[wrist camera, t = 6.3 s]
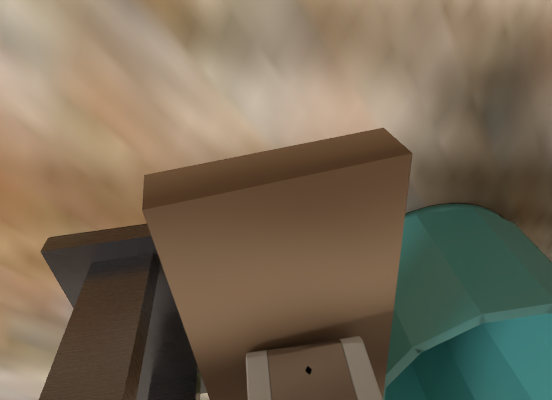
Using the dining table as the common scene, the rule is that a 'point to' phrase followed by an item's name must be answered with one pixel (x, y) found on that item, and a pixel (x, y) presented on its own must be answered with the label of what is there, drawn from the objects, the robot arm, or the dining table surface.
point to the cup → (469, 310)
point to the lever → (283, 250)
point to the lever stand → (118, 322)
